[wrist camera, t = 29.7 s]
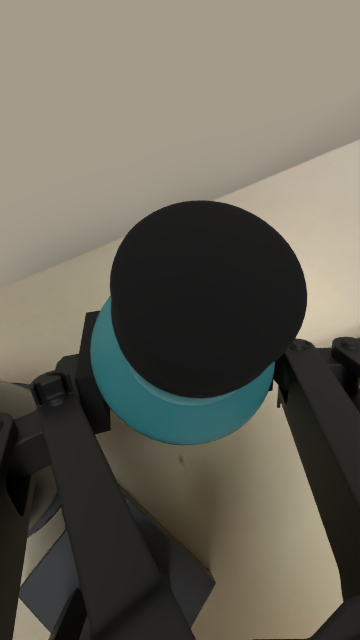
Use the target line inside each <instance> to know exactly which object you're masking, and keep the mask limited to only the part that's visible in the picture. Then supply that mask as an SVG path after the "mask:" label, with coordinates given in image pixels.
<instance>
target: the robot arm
mask: <svg viewBox="0 0 360 640" xmlns="http://www.w3.org/2000/svg"><path fill="white" fill-rule="evenodd" d="M99 313H100V311H94V312H88V313H86V317H85V322H84V328H83V334H82V340H81V346H80V351H79V354H75V355H70V356H65V357H63V358H62V359H61V360H60V361H59V362H58V363H57V366H56V369H55V371H51V372H47V373H45V374H43V375H40V376H39V377H37V378H36V379H35V380H34V381H33V382H32V383H31V384H30V391H31V393H32V396H33V398H34V401H35V403H36V406H37V409H36V410H34V411H33V412H31V413H29V414H27V415H24V416H22V417H20V418H17V419H15V420H14V419H13V417H12V416H11V415H10V414H8V413H0V640H12V638H13V631H14V625H15V618H16V611H17V604H18V597H19V590H20V583H21V577H22V570H23V563H24V556H25V549H26V542H27V536H28V529H29V522H30V515H31V508H32V501H33V495H34V488H35V481H36V474H37V473H36V472H38V471H40V470H41V469H43V468H45V467H47V466H49V465H51V467H52V471H53V475H54V479H55V483H56V488H57V492H58V496H59V500H60V504H61V508H62V512H63V516H64V521H65V525H66V529H67V533H68V537H69V541H70V545H71V549H72V554H73V558H74V562H75V566H76V570H77V574H78V578H79V582H80V587H81V591H82V595H83V599H84V603H85V607H86V611H87V615H88V619H89V624H90V628H91V633H92V639H93V640H196V639H195V637H194V635H193V633H192V631H191V629H190V627H189V625H188V622H187V620H186V618H185V616H184V614H183V612H182V610H181V608H180V606H179V604H178V602H177V600H176V598H175V596H174V594H173V592H172V590H171V588H170V587H169V585H168V583H166V582H165V581H164V580H163V578H162V576H161V574H160V572H159V570H158V568H157V566H156V564H155V562H154V560H153V558H152V555H151V553H150V551H149V549H148V547H147V545H146V543H145V541H144V538H143V536H142V534H141V532H140V530H139V528H138V526H137V524H136V521H135V519H134V517H133V515H132V513H131V511H130V509H129V506H128V504H127V502H126V500H125V498H124V496H123V494H122V492H121V489H120V487H119V485H118V483H117V481H116V479H115V477H114V475H113V472H112V470H111V468H110V466H109V464H108V462H107V460H106V458H105V455H104V453H103V451H102V449H101V447H100V445H99V443H98V441H97V438H96V436H95V434H98V433H102V432H106V431H110V430H111V429H110V407H109V405H108V404H107V403H106V401H105V400H104V398H103V396H102V394H101V392H100V390H99V388H98V386H97V383H96V380H95V378H94V375H93V370H92V365H91V353H90V349H91V338H92V333H93V329H94V325H95V323H96V320H97V317H98V315H99ZM273 380H274V381H275V382H276V383H277V384H278V385H279V387H278V399H277V408H280V404H282V407H283V409H284V412H285V415H286V418H287V421H288V424H289V427H290V430H291V433H292V435H293V438H294V441H295V444H296V447H297V450H298V453H299V456H300V459H301V462H302V464H303V467H304V470H305V473H306V476H307V479H308V482H309V485H310V488H311V490H312V493H313V496H314V499H315V502H316V505H317V508H318V511H319V514H320V517H321V519H322V522H323V525H324V528H325V531H326V534H327V537H328V540H329V543H330V545H331V548H332V551H333V554H334V557H335V560H336V563H337V566H338V569H339V574H340V579H341V590H342V596H343V601H344V602H343V603H342V604H341V605H340V607H339V608H338V609H337V610H336V611H335V612H334V613H333V614H332V615H331V616H330V617H329V618H328V620H327V621H326V622H325V623H324V624H323V625H322V626H321V627H320V628H319V629H318V630H317V632H316V633H315V634H314V635H313V636H312V637H310V638H307V639H253V640H360V340H358V339H355V338H352V337H339V338H336V339H334V340H333V342H332V348H315V346H314V345H313V344H312V343H310V342H308V341H306V340H302V339H295V340H294V341H293V343H292V344H291V345H290V347H289V348H288V349H287V351H286V352H285V353H284V354H283V355H282V356H281V357H280V358H279V359H277V360H276V361H275V367H274V374H273V378H272V382H271V385H270V388H269V390H268V391H272V390H273Z"/></svg>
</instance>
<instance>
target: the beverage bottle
mask: <svg viewBox="0 0 360 640" xmlns="http://www.w3.org/2000/svg"><path fill="white" fill-rule="evenodd" d="M110 291H111V296H110V297H109V299H108V300H107V301H106V303H105V304H104V306H103V307H102V309H101V311H100V313H99V315H98V317H97V320H96V323H95V325H94V329H93V333H92V338H91V349H90V353H91V365H92V370H93V375H94V378H95V380H96V383H97V386H98V388H99V390H100V392H101V394H102V396H103V398H104V400H105V401H106V403H107V404H108V405H109V407H110V408H111V409H112V411H113V412H114V413H115V414H116V415H117V416H118V417H119V418H120V419H121V420H122V421H123V422H124V423H126V424H127V425H128V426H129V427H131V428H132V429H134V430H135V431H137V432H139V433H140V434H143V435H145V436H147V437H149V438H151V439H154V440H157V441H160V442H164V443H169V444H175V445H196V444H203V443H208V442H212V441H215V440H218V439H220V438H223V437H225V436H227V435H229V434H231V433H233V432H234V431H236V430H238V429H239V428H240V427H241V426H243V425H244V424H245V423H246V422H247V421H248V420H249V419H250V418H251V417H252V416H253V415H254V414H255V413H256V411H257V410H258V409H259V407H260V406H261V404H262V403H263V401H264V399H265V397H266V395H267V393H268V390H269V388H270V385H271V382H272V378H273V374H274V367H275V361H276V360H277V359H279V358H280V357H281V356H282V355H283V354H284V353H285V352H286V351H287V349H288V348H289V347H290V345H291V344H292V343H293V341H294V340H295V338H296V336H297V334H298V332H299V330H300V328H301V326H302V323H303V320H304V317H305V312H306V307H307V289H306V282H305V278H304V273H303V271H302V268H301V265H300V263H299V261H298V259H297V257H296V255H295V253H294V252H293V250H292V249H291V247H290V246H289V244H288V243H287V242H286V241H285V239H284V238H283V237H282V236H281V235H280V234H279V233H278V232H277V231H276V230H275V229H274V228H273V227H271V226H270V225H269V224H268V223H266V222H265V221H263V220H262V219H260V218H259V217H257V216H256V215H254V214H252V213H250V212H248V211H246V210H243V209H241V208H239V207H236V206H233V205H230V204H226V203H221V202H215V201H187V202H181V203H176V204H172V205H170V206H167V207H164V208H161V209H159V210H157V211H155V212H153V213H151V214H150V215H148V216H147V217H145V218H144V219H142V220H141V221H140V222H138V223H137V224H136V225H135V226H134V227H133V228H132V229H131V230H130V231H129V232H128V234H127V235H126V237H125V238H124V239H123V241H122V243H121V245H120V246H119V248H118V250H117V253H116V256H115V258H114V261H113V265H112V270H111V276H110Z"/></svg>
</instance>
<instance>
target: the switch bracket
mask: <svg viewBox="0 0 360 640" xmlns="http://www.w3.org/2000/svg"><path fill="white" fill-rule="evenodd" d="M118 485H119V484H118ZM119 487H120V489H121V492H122V494H123V496H124V498H125V500H126V502H127V504H128V506H129V509H130V511H131V513H132V515H133V517H134V519H135V521H136V524H137V526H138V528H139V530H140V532H141V534H142V536H143V538H144V541H145V543H146V545H147V547H148V549H149V551H150V553H151V555H152V558H153V560H154V562H155V564H156V566H157V568H158V570H159V572H160V574H161V576H162V578H163V580H164V581H165V582H166V583H168V585H169V587H170V588H171V590H172V592H173V594H174V596H175V598H176V600H177V602H178V604H179V606H180V608H181V610H182V612H183V614H184V616H185V618H186V620H187V622H188V625H189V627H190V628H191V626H192V625H193V623H194V621H195V619H196V618H197V616H198V614H199V612H200V610H201V609H202V607H203V605H204V603H205V602H206V600H207V598H208V596H209V594H210V593H211V591H212V589H213V587H214V586H215V583H216V582H215V580H214V578H213V576H212V573H211V572H210V571H209V570H208V569H207V568H206V567H205V566H204V565H203V564H202V563H201V562H200V561H199V560H198V559H197V558H196V557H195V556H194V555H192V554H191V553H190V552H189V551H188V550H187V549H186V548H185V547H184V546H183V545H182V544H181V543H180V542H179V541H178V540H177V539H176V538H175V537H174V536H173V535H171V534H170V533H169V532H168V531H167V530H166V529H165V528H164V527H163V526H162V525H161V524H160V523H159V522H158V521H157V520H156V519H155V518H154V517H153V516H151V515H150V514H149V513H148V512H147V511H146V510H145V509H144V508H143V507H142V506H141V505H140V504H139V503H138V502H137V501H136V500H135V499H134V498H133V497H131V496H130V495H129V494H128V493H127V492H126V491H125V490H124V489H123V488H122V487H121V486H120V485H119ZM19 598H20V599H21V600H22V602H23V603H24V604H25V605H26V606H27V607H28V608H29V609H30V611H31V612H32V613H33V614H34V615H35V616H36V617H37V618H38V619H39V621H40V622H41V623H42V624H43V625H44V626H45V627H46V628H47V629H48V631H49V632H50V633H51V635H50V637H49V639H48V640H93V639H92V633H91V628H90V624H89V619H88V615H87V611H86V607H85V603H84V599H83V595H82V591H81V587H80V582H79V578H78V574H77V570H76V566H75V562H74V558H73V554H72V549H71V545H70V541H69V537H68V533H67V529H66V530H65V531H64V533H63V534H62V535H61V536H60V538H59V539H58V540H57V541H56V543H55V544H54V545H53V546H52V548H51V549H50V550H49V551H48V553H47V554H46V555H45V557H44V558H43V559H42V560H41V562H40V563H39V564H38V565H37V567H36V568H35V569H34V570H33V572H32V573H31V574H30V575H29V577H28V578H27V579H26V580H25V582H24V583H23V584H22V585H21V587H20V590H19Z"/></svg>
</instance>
